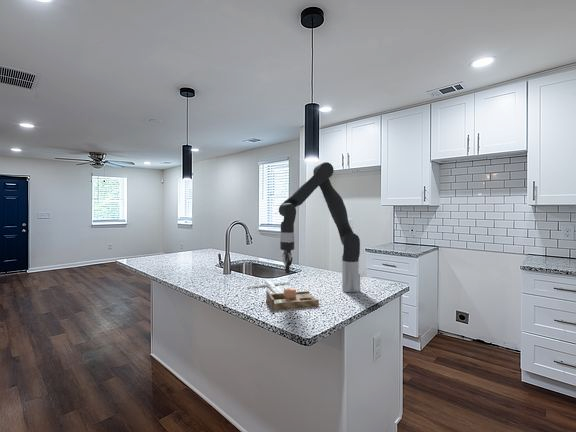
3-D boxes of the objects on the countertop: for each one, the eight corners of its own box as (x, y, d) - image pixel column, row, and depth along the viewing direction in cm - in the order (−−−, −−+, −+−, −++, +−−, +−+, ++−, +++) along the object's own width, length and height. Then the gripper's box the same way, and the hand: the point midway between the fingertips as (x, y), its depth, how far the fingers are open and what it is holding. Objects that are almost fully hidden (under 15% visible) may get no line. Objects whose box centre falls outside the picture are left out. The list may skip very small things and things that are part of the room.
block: (293, 294, 159) (293, 287, 159) (295, 297, 154) (295, 289, 154) (284, 295, 158) (284, 287, 158) (286, 298, 153) (286, 290, 153)
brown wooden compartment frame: (308, 296, 163) (308, 287, 163) (318, 305, 148) (318, 295, 148) (266, 300, 158) (266, 290, 158) (272, 310, 142) (272, 299, 142)
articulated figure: (258, 294, 158) (244, 279, 186) (258, 302, 159) (244, 285, 186) (305, 289, 168) (286, 275, 196) (305, 296, 168) (286, 281, 196)
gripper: (277, 239, 168) (277, 270, 168) (283, 242, 155) (283, 276, 155) (290, 239, 169) (290, 270, 170) (297, 241, 157) (297, 275, 157)
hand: (287, 272), depth 163 cm, fingers closed
